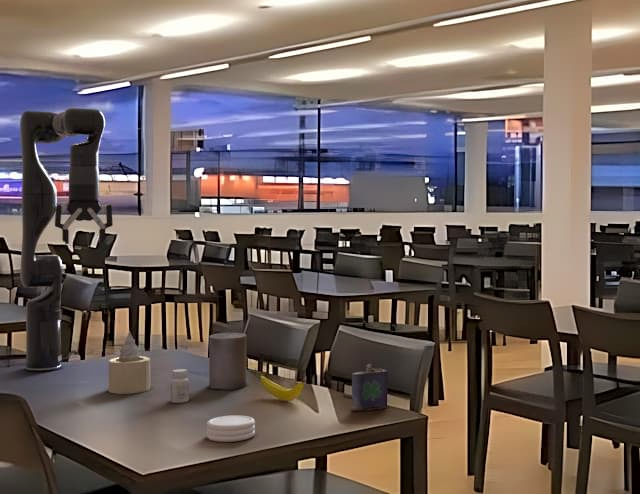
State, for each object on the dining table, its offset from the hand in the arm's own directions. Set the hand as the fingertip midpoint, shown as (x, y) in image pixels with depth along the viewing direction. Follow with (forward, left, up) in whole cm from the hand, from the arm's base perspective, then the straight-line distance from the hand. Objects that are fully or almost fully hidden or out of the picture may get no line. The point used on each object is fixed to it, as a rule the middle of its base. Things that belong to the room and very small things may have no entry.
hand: (83, 243), depth 257 cm
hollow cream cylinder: (+12, +10, -38) cm, 41 cm away
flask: (+61, +58, -38) cm, 92 cm away
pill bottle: (+32, +19, -38) cm, 53 cm away
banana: (+42, +42, -38) cm, 71 cm away
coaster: (+72, +22, -38) cm, 84 cm away
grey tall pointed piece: (+12, +10, -38) cm, 41 cm away
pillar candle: (+19, +34, -38) cm, 55 cm away
